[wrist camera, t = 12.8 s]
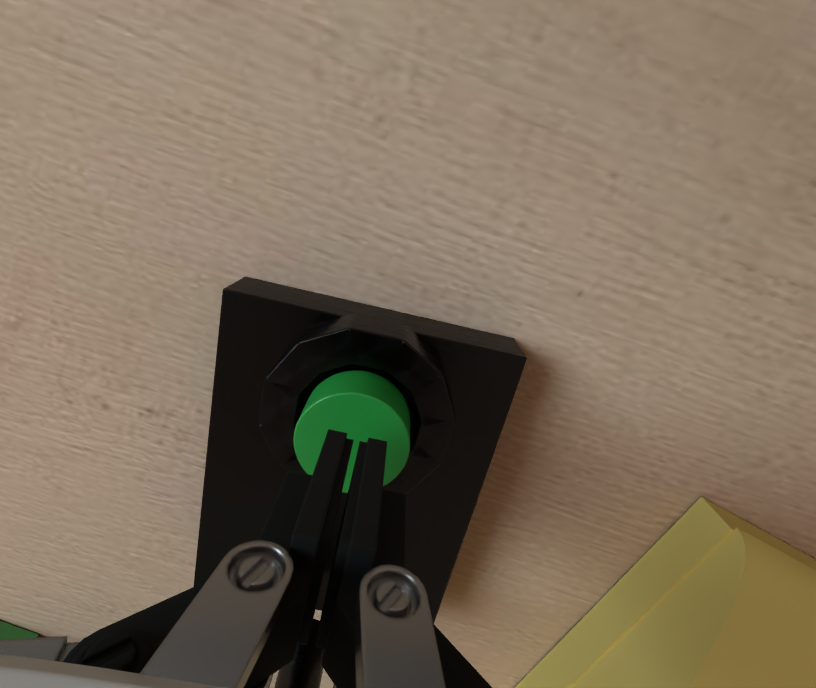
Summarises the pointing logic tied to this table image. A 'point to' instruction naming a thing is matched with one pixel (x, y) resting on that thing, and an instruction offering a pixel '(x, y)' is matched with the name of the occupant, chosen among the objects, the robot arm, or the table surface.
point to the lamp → (303, 665)
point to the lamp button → (355, 420)
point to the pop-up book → (697, 615)
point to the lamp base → (330, 354)
